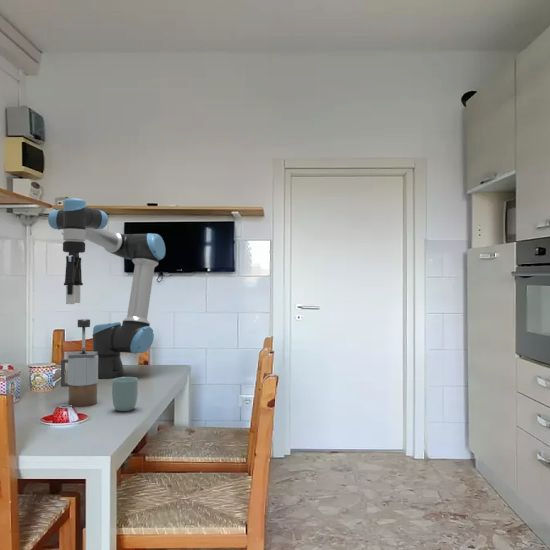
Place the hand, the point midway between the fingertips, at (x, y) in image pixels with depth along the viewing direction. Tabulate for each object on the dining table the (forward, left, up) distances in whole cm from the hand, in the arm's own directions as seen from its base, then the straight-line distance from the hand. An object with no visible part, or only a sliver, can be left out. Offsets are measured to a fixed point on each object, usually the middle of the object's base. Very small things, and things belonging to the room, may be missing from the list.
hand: (73, 303), depth 179 cm
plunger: (+12, +6, -19) cm, 23 cm away
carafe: (+12, +5, -33) cm, 36 cm away
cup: (+23, +21, -34) cm, 46 cm away
